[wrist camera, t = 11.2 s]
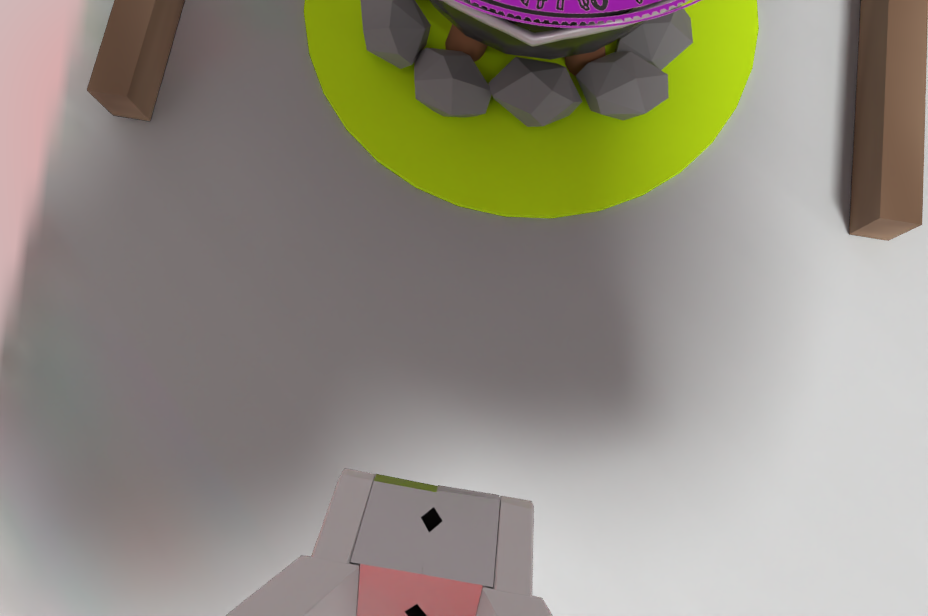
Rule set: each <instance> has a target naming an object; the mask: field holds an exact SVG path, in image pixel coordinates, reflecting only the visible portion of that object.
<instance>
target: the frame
mask: <svg viewBox="0 0 928 616" xmlns="http://www.w3.org/2000/svg"><path fill="white" fill-rule="evenodd" d="M184 1H185V0H115V1H114V4H113V7H112V10H111V14H110V17H109V20H108V23H107V27H106V30H105V33H104V36H103V39H102V43H101V46H100V49H99V52H98V56H97V59H96V62H95V65H94V68H93V72H92V75H91V78H90V81H89V85H88V88H87V91H88V92H89V93H90V94H91V95H92V96H93V97H94V98H95V99H97V100H98V101H99V102H100V103H101V104H102V105H103V106H104V107H105V108H106V109H107V110H108V111H109V112H110V113H111V114H112V115H115V116H121V117H127V118H134V119H140V120H146V121H150V120H151V116H152V113H153V109H154V106H155V102H156V99H157V95H158V92H159V88H160V85H161V81H162V78H163V74H164V71H165V67H166V64H167V60H168V57H169V53H170V50H171V46H172V43H173V39H174V36H175V32H176V29H177V25H178V22H179V18H180V15H181V11H182V8H183V4H184ZM927 19H928V0H861V8H860V28H859V48H858V68H857V88H856V108H855V128H854V148H853V168H852V188H851V208H850V228H849V234H851V235H857V236H863V237H869V238H875V239H881V240H891V239H893V238H895V237H897V236H899V235H901V234H903V233H905V232H908V231H910V230H912V229H914V228H916V227H918V226H920V225H922V207H923V170H924V132H925V94H926V57H927Z"/></svg>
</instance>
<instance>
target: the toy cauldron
mask: <svg viewBox="0 0 928 616" xmlns="http://www.w3.org/2000/svg"><path fill="white" fill-rule="evenodd" d="M304 17H305V25H306V32H307V40H308V48H309V55H310V57H311V60H312V63H313V66H314V68H315V71H316V74H317V77H318V79H319V82H320V85H321V88H322V90H323V93H324V95H325V96H326V98H327V99H328V101H329V103H330V104H331V106H332V107H333V109H334V111H335V112H336V114H337V115H338V117H339V118H340V120H341V122H342V123H343V125H344V126H345V128H346V130H347V131H348V132H349V133H350V134H351V135H352V136H353V137H354V138H355V139H356V140H357V141H358V142H359V143H360V144H361V145H362V146H363V147H364V148H365V149H366V150H367V151H368V152H369V153H370V154H371V155H372V156H373V157H374V158H375V159H376V160H377V161H378V162H379V163H380V164H382V165H383V166H385V167H386V168H388V169H389V170H391V171H392V172H394V173H395V174H396V175H398V176H399V177H401V178H402V179H404V180H405V181H407V182H408V183H410V184H411V185H412V186H414V187H415V188H418V189H420V190H422V191H425V192H427V193H429V194H431V195H434V196H436V197H438V198H441V199H443V200H445V201H448V202H450V203H452V204H454V205H457V206H460V207H464V208H469V209H473V210H478V211H482V212H486V213H491V214H495V215H500V216H504V217H528V218H558V217H564V216H571V215H577V214H584V213H590V212H597V211H601V210H604V209H606V208H609V207H612V206H615V205H617V204H620V203H623V202H626V201H629V200H631V199H634V198H637V197H640V196H642V195H644V194H646V193H647V192H649V191H651V190H652V189H654V188H656V187H657V186H659V185H661V184H662V183H664V182H666V181H667V180H669V179H670V178H672V177H674V176H675V175H677V174H679V173H680V172H681V171H683V170H684V169H685V168H686V167H687V166H688V165H689V164H690V163H691V162H692V161H693V160H694V159H695V158H696V157H698V156H699V155H700V154H701V153H702V152H703V151H704V150H705V149H706V148H707V147H708V146H709V145H710V144H711V143H712V142H713V141H714V139H715V138H716V136H717V135H718V134H719V132H720V131H721V129H722V128H723V126H724V125H725V123H726V122H727V120H728V119H729V118H730V116H731V115H732V113H733V112H734V110H735V109H736V107H737V105H738V102H739V100H740V97H741V95H742V92H743V90H744V87H745V85H746V82H747V80H748V77H749V75H750V72H751V70H752V67H753V60H754V54H755V48H756V42H757V35H758V29H759V27H758V11H757V0H305V3H304Z"/></svg>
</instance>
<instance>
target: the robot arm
mask: <svg viewBox="0 0 928 616" xmlns="http://www.w3.org/2000/svg"><path fill="white" fill-rule="evenodd" d="M533 529H534V506H533V503H532V501H528V500H522V499H517V498H511V497H505V496H500V497H499V495H496V494H490V493H483V492H477V491H471V490H465V489H458V488H452V487H446V486H440V485H438V486H434V485H429V484H424V483H419V482H414V481H409V480H404V479H399V478H394V477H389V476H384V475H379V474H373V473H367V472H362V471H357V470H352V469H346V468H345V469H344V470H343V472H342V473H341V475H340V476H339V479H338V482H337V485H336V487H335V490H334V493H333V496H332V499H331V502H330V504H329V507H328V510H327V513H326V516H325V519H324V521H323V524H322V527H321V530H320V533H319V536H318V538H317V541H316V544H315V547H314V550H313V553H312V555H311V557H310V556H303V555H301V556H300V557H299V558H297V559H296V560H295V561H294V562H292V563H291V564H290V565H289V566H287V567H286V568H285V569H284V570H282V571H281V572H280V573H279V574H277V575H276V576H275V577H273V578H272V579H271V580H270V581H268V582H267V583H266V584H265V585H263V586H262V587H261V588H260V589H258V590H257V591H256V592H255V593H253V594H252V595H251V596H250V597H248V598H247V599H246V600H245V601H243V602H242V603H241V604H239V605H238V606H237V607H236V608H234V609H233V610H232V611H231V612H229V613H228V614H227V615H226V616H553V615H552V614H551V612H550V610H549V609H548V607H547V605H546V604H545V602H544V600H543V599H542V598H541V597H536V596H532V578H533Z"/></svg>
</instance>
